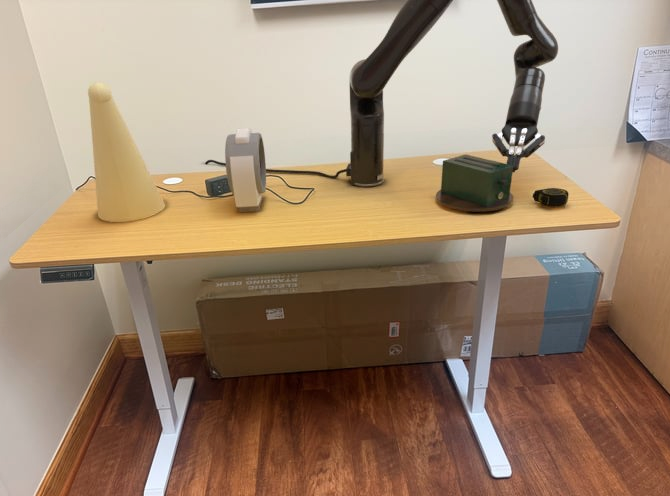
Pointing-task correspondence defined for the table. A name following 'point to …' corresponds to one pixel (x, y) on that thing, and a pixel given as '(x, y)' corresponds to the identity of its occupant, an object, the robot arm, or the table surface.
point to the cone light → (118, 164)
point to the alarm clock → (246, 168)
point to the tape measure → (551, 197)
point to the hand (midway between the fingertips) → (511, 170)
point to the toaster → (475, 184)
